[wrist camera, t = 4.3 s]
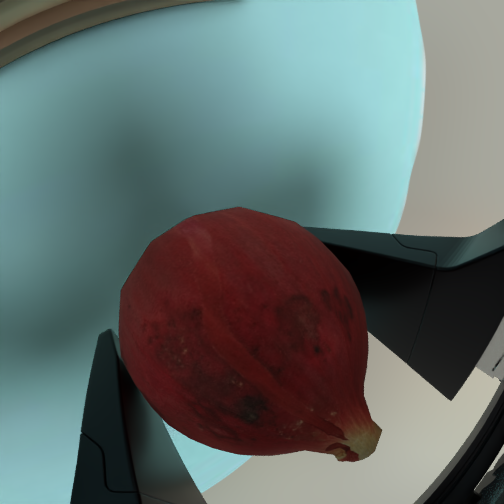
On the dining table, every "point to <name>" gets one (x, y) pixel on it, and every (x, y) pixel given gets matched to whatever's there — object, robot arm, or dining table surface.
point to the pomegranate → (249, 337)
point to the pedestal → (60, 20)
